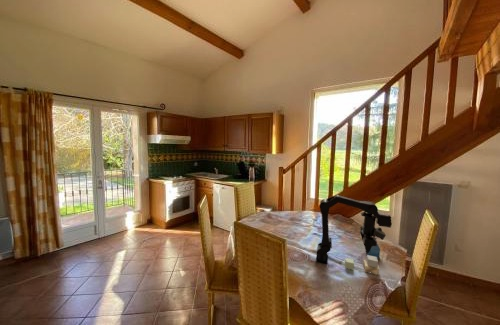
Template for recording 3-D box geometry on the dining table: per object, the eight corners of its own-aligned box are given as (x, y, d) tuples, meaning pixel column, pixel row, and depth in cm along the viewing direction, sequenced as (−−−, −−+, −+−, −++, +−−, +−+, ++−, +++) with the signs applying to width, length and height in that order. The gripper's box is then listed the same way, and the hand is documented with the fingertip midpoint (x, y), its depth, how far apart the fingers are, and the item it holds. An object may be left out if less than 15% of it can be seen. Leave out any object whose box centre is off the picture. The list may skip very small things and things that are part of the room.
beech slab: (365, 272, 125) (365, 266, 124) (363, 265, 131) (363, 259, 131) (378, 275, 122) (379, 268, 122) (376, 268, 129) (376, 262, 128)
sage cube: (345, 268, 127) (345, 261, 127) (344, 264, 132) (345, 257, 131) (353, 270, 126) (354, 263, 125) (352, 266, 130) (353, 259, 130)
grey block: (367, 265, 124) (368, 259, 124) (366, 261, 129) (366, 255, 128) (377, 267, 123) (378, 261, 122) (375, 263, 127) (376, 256, 127)
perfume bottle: (369, 256, 140) (370, 239, 139) (365, 251, 146) (367, 235, 145) (379, 257, 139) (380, 240, 138) (375, 252, 145) (376, 236, 144)
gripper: (389, 233, 111) (385, 261, 114) (381, 220, 129) (378, 244, 131) (365, 229, 115) (362, 256, 117) (361, 217, 132) (358, 240, 135)
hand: (366, 248), depth 125 cm, fingers open, 9 cm apart
